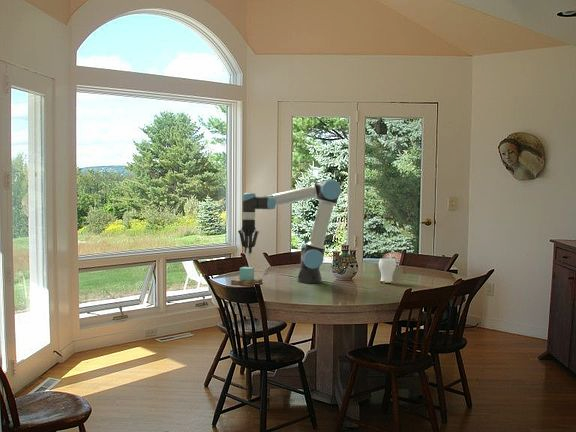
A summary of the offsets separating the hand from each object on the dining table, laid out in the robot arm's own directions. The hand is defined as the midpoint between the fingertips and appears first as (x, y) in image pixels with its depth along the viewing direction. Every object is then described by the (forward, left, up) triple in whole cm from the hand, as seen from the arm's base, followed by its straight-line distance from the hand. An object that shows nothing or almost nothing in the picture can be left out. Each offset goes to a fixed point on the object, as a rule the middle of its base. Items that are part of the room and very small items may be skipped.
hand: (248, 258), depth 371 cm
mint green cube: (0, 0, -13) cm, 13 cm away
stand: (0, 0, -15) cm, 15 cm away
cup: (-74, -49, -15) cm, 90 cm away
